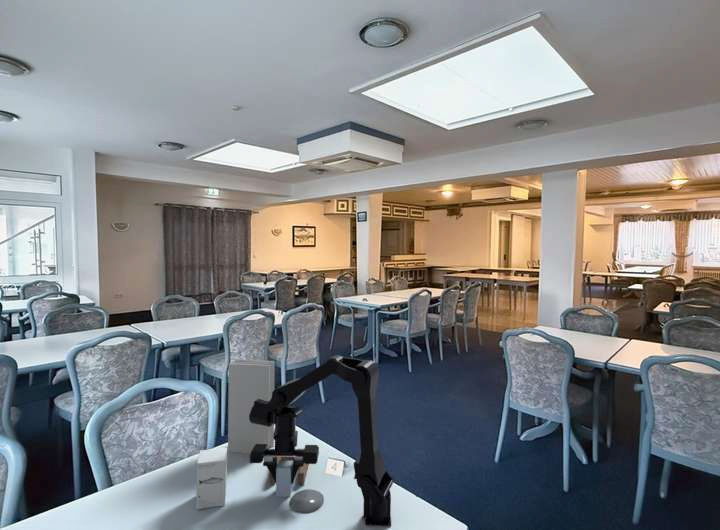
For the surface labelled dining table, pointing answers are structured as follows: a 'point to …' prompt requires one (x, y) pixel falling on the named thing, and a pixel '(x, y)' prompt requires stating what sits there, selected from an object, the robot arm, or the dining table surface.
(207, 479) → the supplement box
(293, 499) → the coaster
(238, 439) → the tall grey box
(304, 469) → the frame
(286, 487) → the block
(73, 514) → the dining table surface
